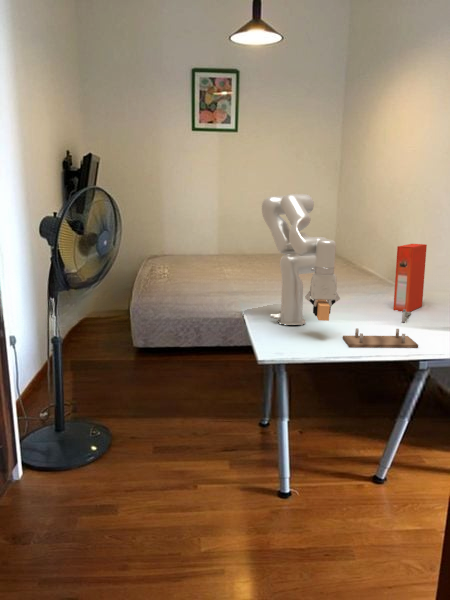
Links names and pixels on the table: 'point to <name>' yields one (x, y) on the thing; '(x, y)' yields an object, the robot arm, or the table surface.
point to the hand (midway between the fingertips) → (321, 314)
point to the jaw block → (323, 310)
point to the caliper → (405, 315)
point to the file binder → (409, 277)
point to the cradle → (379, 341)
